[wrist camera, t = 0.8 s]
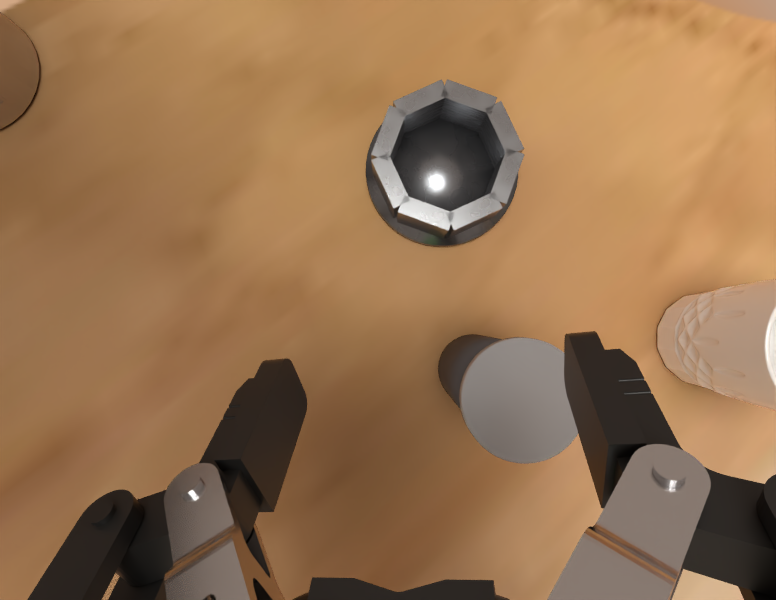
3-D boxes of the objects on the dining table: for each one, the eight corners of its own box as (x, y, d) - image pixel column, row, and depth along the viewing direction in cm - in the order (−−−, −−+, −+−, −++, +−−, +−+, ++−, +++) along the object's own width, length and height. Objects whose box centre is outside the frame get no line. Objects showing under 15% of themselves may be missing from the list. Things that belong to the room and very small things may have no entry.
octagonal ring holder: (342, 136, 32) (336, 113, 29) (476, 75, 33) (487, 45, 29) (404, 271, 32) (406, 265, 28) (540, 208, 32) (560, 195, 29)
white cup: (742, 275, 32) (903, 257, 22) (766, 382, 32) (940, 412, 22) (636, 296, 32) (750, 286, 22) (659, 403, 32) (785, 442, 22)
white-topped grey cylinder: (421, 350, 32) (441, 369, 20) (491, 317, 32) (553, 317, 20) (454, 420, 32) (494, 484, 20) (524, 388, 32) (607, 431, 20)
